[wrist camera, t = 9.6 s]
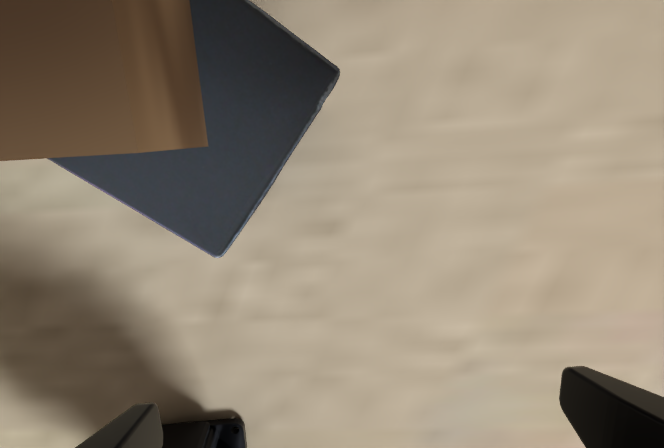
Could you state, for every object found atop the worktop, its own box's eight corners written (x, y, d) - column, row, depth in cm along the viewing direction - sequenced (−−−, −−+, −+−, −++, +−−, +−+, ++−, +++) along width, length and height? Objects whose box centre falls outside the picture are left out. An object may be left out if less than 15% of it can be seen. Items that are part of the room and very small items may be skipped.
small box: (74, 88, 18) (-219, 23, 8) (139, -33, 17) (-100, -282, 7) (259, 205, 20) (214, 273, 10) (326, 102, 19) (352, 60, 9)
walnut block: (208, 146, 9) (138, 152, 5) (-2, 158, 9) (-237, 174, 5) (177, -88, 8) (61, -295, 4) (-65, -82, 8) (-430, -299, 4)
